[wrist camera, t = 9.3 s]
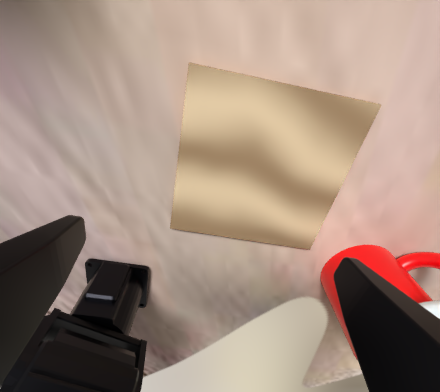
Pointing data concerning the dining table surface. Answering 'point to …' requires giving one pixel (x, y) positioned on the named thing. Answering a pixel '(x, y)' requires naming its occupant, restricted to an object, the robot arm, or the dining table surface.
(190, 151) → the mat
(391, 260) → the mug
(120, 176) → the dining table surface
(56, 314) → the robot arm
